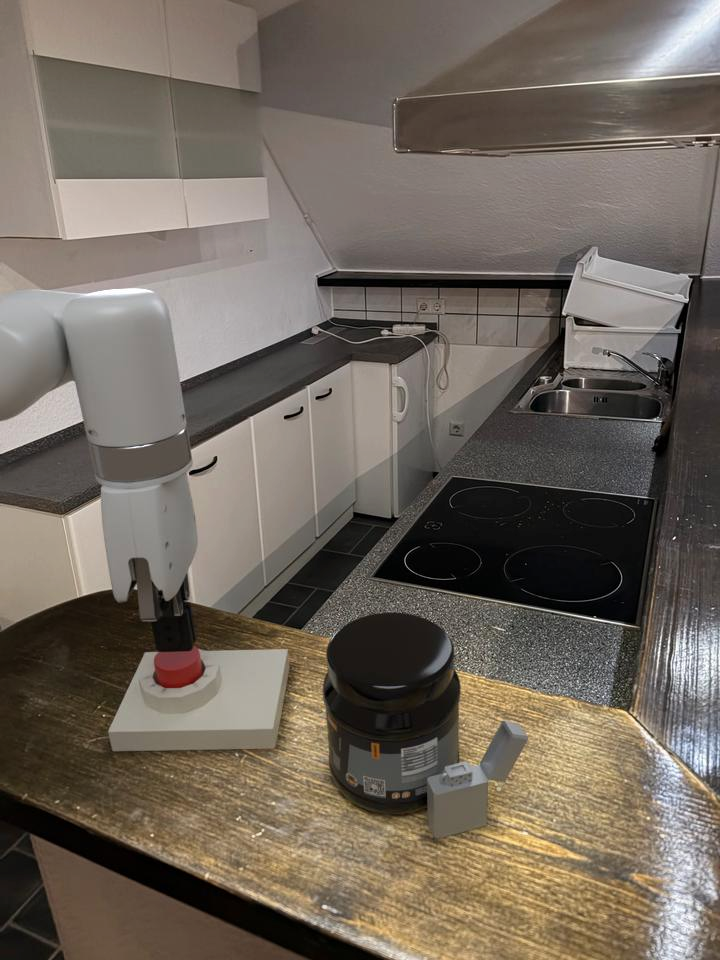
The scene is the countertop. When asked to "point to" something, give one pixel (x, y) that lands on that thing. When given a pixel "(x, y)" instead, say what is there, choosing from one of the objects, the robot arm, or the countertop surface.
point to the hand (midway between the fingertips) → (177, 645)
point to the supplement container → (390, 710)
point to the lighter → (472, 784)
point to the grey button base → (205, 705)
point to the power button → (178, 668)
